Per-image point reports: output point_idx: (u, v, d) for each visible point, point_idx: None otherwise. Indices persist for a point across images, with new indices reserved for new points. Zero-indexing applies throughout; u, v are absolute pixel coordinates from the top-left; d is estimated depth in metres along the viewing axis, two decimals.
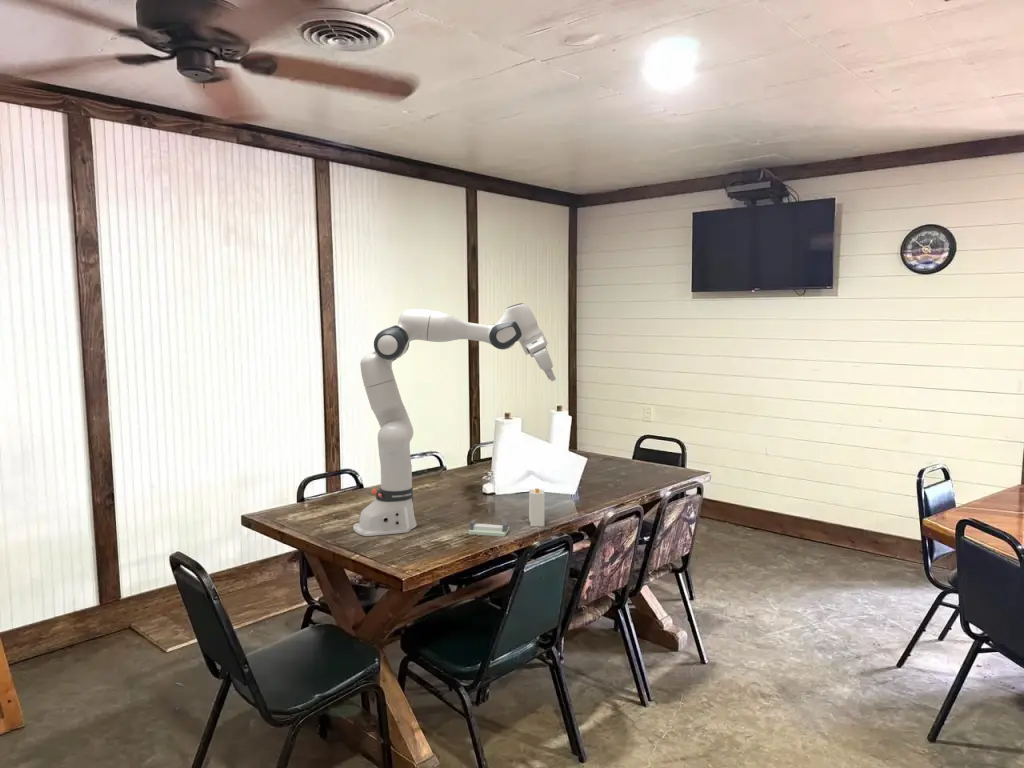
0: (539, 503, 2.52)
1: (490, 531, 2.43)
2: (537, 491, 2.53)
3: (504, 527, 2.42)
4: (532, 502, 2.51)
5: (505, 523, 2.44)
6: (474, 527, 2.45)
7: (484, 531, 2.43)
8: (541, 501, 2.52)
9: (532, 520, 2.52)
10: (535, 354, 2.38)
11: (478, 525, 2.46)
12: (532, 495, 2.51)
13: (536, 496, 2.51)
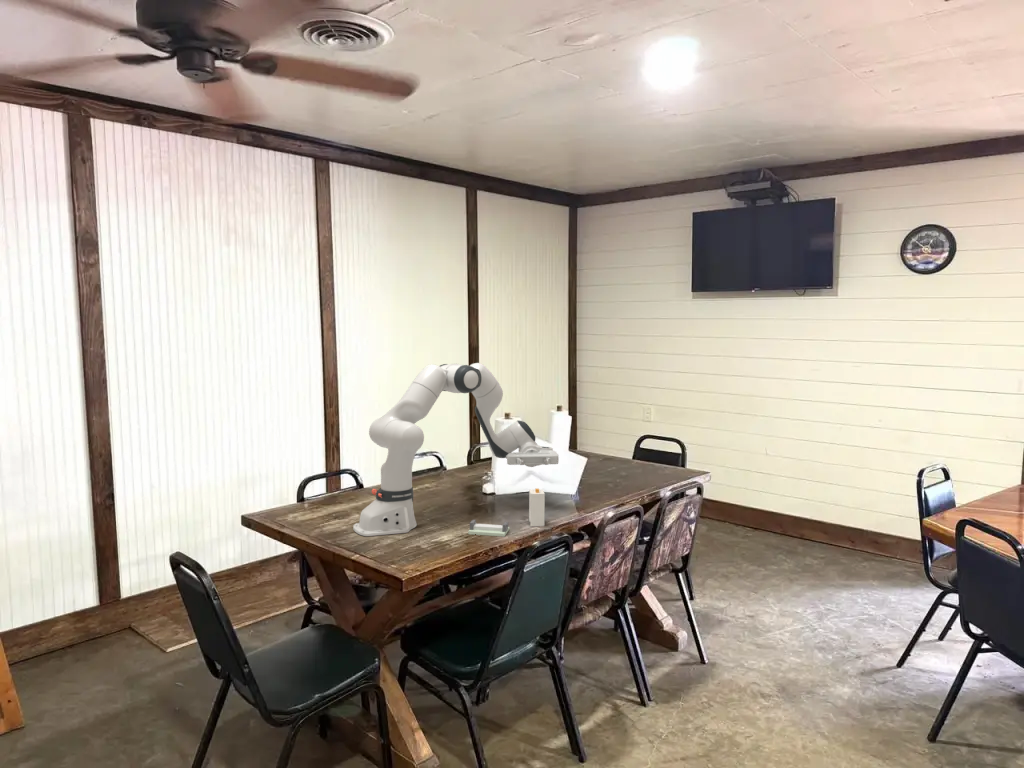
0: (539, 503, 2.52)
1: (490, 531, 2.43)
2: (537, 491, 2.53)
3: (504, 527, 2.42)
4: (532, 502, 2.51)
5: (505, 523, 2.44)
6: (474, 527, 2.45)
7: (484, 531, 2.43)
8: (541, 501, 2.52)
9: (532, 520, 2.52)
10: None
11: (478, 525, 2.46)
12: (532, 495, 2.51)
13: (536, 496, 2.51)
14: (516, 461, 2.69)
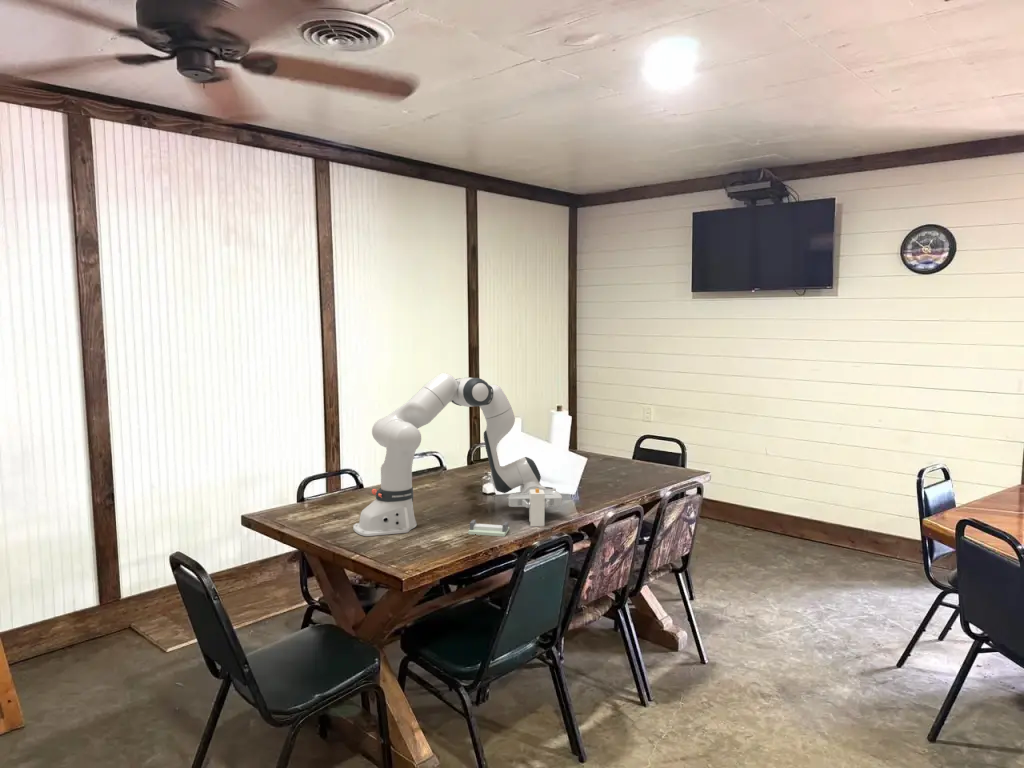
0: (539, 503, 2.52)
1: (490, 531, 2.43)
2: (537, 491, 2.53)
3: (504, 527, 2.42)
4: (532, 502, 2.51)
5: (505, 523, 2.44)
6: (474, 527, 2.45)
7: (484, 531, 2.43)
8: (541, 501, 2.52)
9: (532, 520, 2.52)
10: None
11: (478, 525, 2.46)
12: (532, 495, 2.51)
13: (536, 496, 2.51)
14: (522, 503, 2.58)
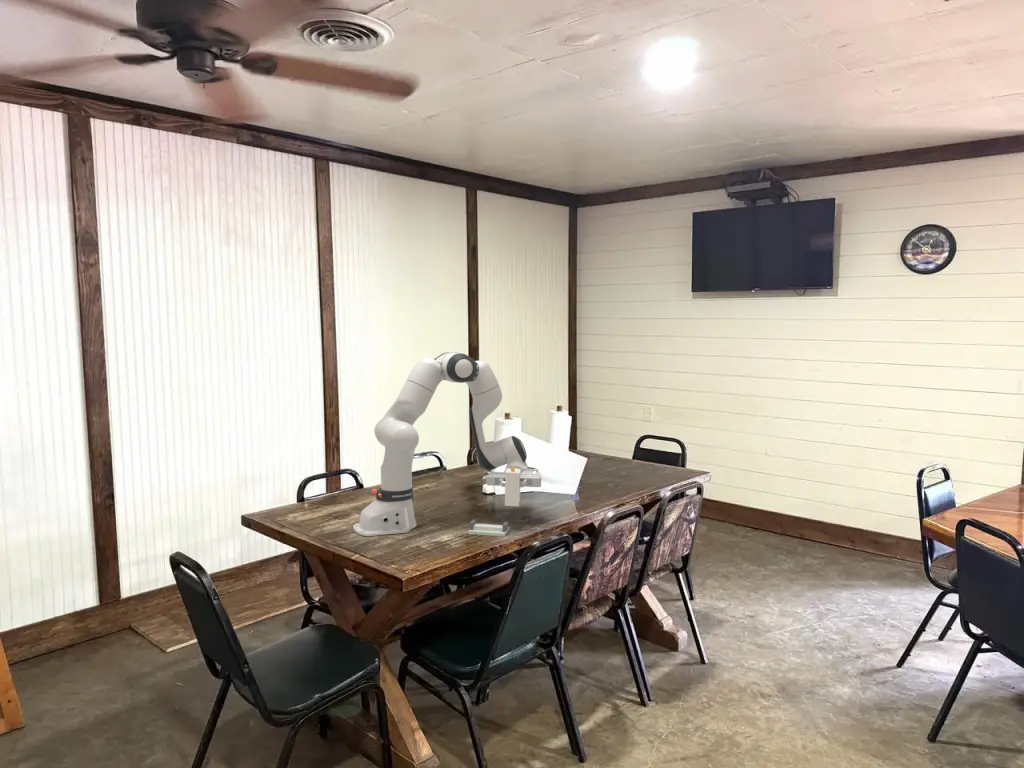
0: (513, 482, 2.45)
1: (490, 531, 2.43)
2: (512, 470, 2.46)
3: (504, 527, 2.42)
4: (506, 481, 2.45)
5: (505, 523, 2.44)
6: (474, 527, 2.45)
7: (484, 531, 2.43)
8: (516, 480, 2.45)
9: (506, 499, 2.46)
10: None
11: (478, 525, 2.46)
12: (506, 474, 2.45)
13: (510, 475, 2.45)
14: (499, 482, 2.52)
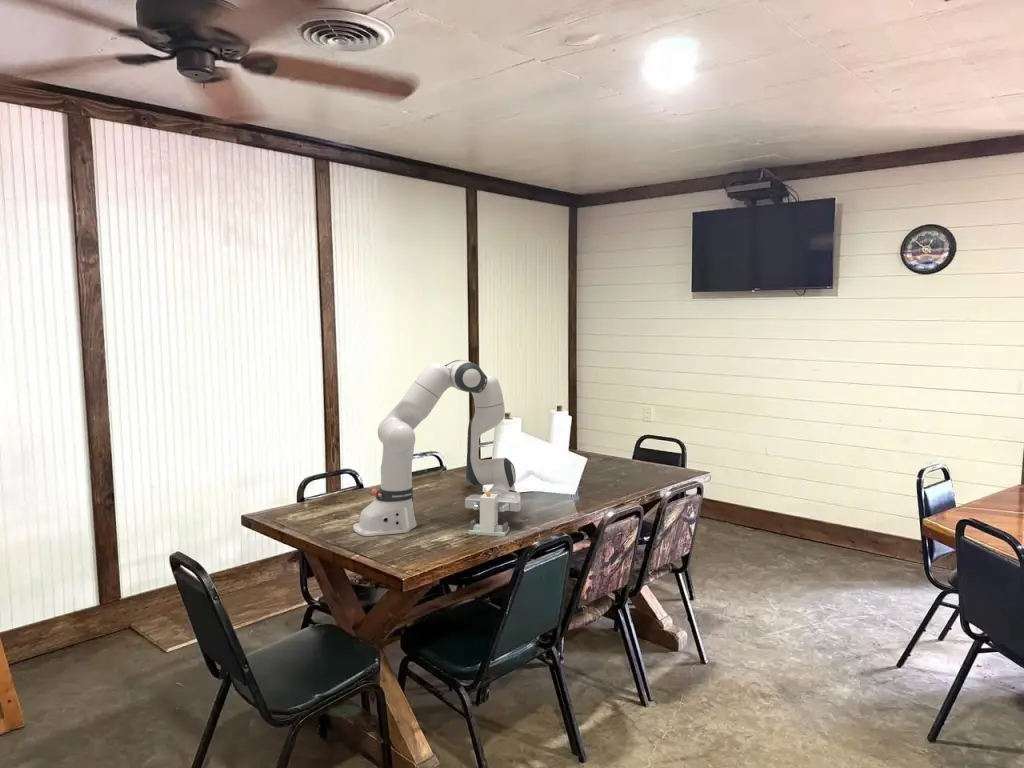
0: (488, 508, 2.41)
1: None
2: (488, 495, 2.43)
3: (504, 527, 2.42)
4: (481, 506, 2.42)
5: (505, 523, 2.44)
6: (474, 527, 2.45)
7: None
8: (490, 506, 2.41)
9: (481, 525, 2.42)
10: None
11: (478, 525, 2.46)
12: (481, 499, 2.42)
13: (485, 500, 2.41)
14: (473, 505, 2.49)
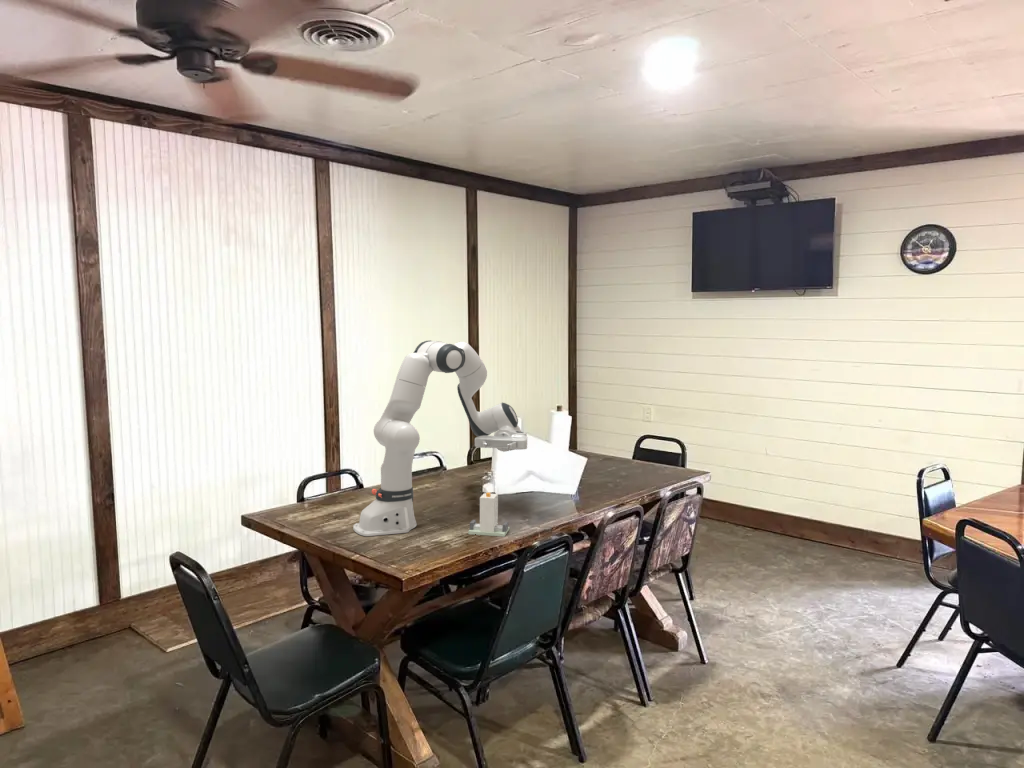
0: (488, 508, 2.41)
1: None
2: (487, 495, 2.43)
3: (504, 527, 2.42)
4: (481, 506, 2.42)
5: (505, 523, 2.44)
6: (474, 527, 2.45)
7: None
8: (490, 506, 2.41)
9: (481, 525, 2.42)
10: None
11: (478, 525, 2.46)
12: (481, 499, 2.42)
13: (485, 500, 2.41)
14: (482, 444, 2.63)
